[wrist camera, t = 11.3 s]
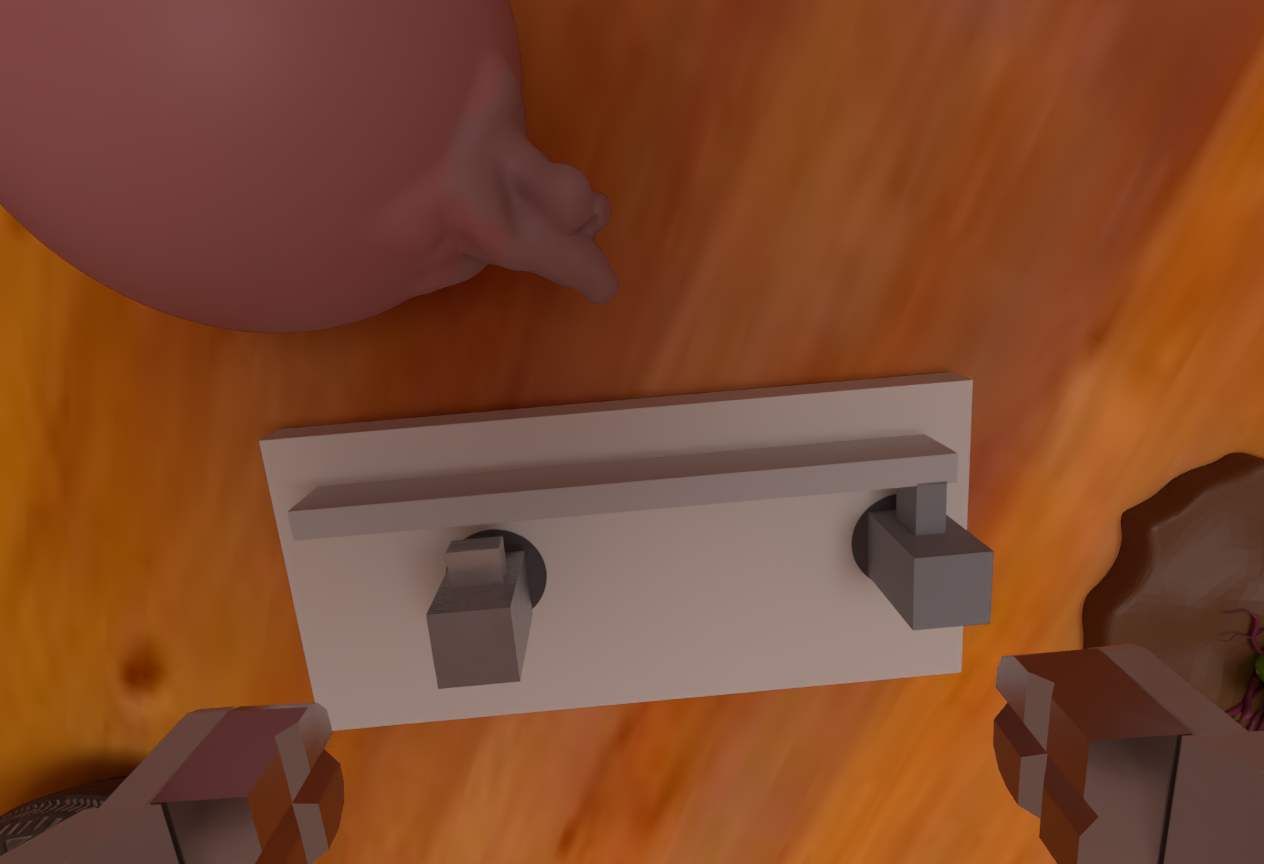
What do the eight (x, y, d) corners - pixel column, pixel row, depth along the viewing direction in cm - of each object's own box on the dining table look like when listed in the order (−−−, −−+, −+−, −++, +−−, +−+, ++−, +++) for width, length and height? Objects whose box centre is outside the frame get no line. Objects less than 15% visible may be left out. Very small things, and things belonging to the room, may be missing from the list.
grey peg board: (951, 372, 33) (1042, 404, 26) (942, 649, 36) (1020, 742, 29) (279, 429, 32) (192, 477, 25) (336, 705, 36) (273, 813, 29)
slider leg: (521, 514, 31) (504, 568, 25) (533, 610, 32) (519, 681, 27) (450, 520, 31) (419, 576, 25) (465, 616, 32) (437, 689, 27)
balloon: (508, 437, 33) (428, 597, 18) (83, 169, 29) (-459, 88, 14) (708, 135, 30) (814, 23, 15) (264, -200, 26) (-175, -781, 11)
